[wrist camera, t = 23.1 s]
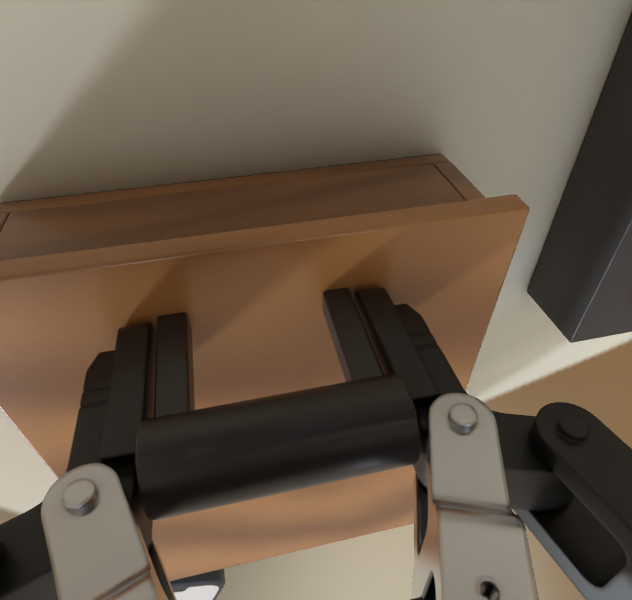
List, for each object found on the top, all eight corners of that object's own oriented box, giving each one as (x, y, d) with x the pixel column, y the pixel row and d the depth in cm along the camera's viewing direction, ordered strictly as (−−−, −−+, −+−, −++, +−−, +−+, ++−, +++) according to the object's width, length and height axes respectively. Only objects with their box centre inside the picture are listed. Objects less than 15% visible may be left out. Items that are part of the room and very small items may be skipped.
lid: (-85, 270, 10) (-245, 529, 6) (516, 192, 12) (676, 348, 8) (147, 571, 23) (141, 712, 19) (413, 509, 25) (456, 625, 21)
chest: (-8, 203, 13) (-54, 281, 11) (442, 152, 15) (497, 208, 13) (150, 499, 26) (147, 570, 23) (390, 448, 28) (413, 508, 25)
